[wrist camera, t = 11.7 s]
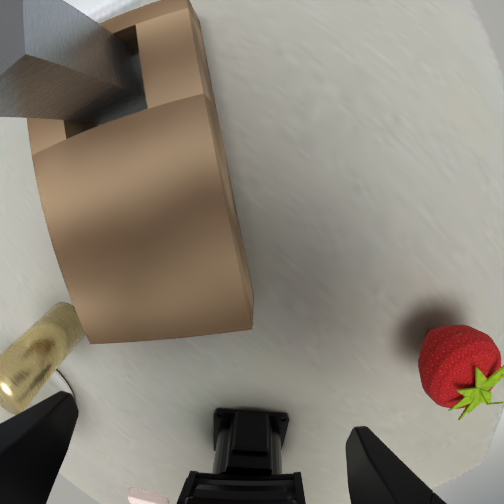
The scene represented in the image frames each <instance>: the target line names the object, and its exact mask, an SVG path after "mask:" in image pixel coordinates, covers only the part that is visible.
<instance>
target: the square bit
mask: <svg viewBox="0 0 504 504" xmlns="http://www.w3.org/2000/svg"><path fill="white" fill-rule="evenodd" d="M146 108H148V107H147V101H146V95H145V89H144V82H143V76H142V69H141V62H140V55H139V52H138V51H136V50H135V49H134V48H132V47H131V46H130V45H128V44H127V43H125V42H124V41H123V40H121V39H120V38H118V37H117V36H116V35H114V34H113V33H111V32H110V31H109V30H107V29H106V28H104V27H103V26H101V25H100V24H98V23H97V22H95V21H94V20H92V19H91V18H89V17H88V16H86V15H85V14H83V13H82V12H80V11H79V10H77V9H76V8H74V7H73V6H71V5H69V4H68V3H66V2H65V1H63V0H0V117H24V118H42V119H55V120H67V121H77V122H87V123H96V124H105V123H108V122H110V121H113V120H116V119H119V118H121V117H124V116H127V115H130V114H133V113H136V112H139V111H142V110H144V109H146Z"/></svg>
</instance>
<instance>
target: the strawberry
mask: <svg viewBox="0 0 504 504" xmlns="http://www.w3.org/2000/svg"><path fill="white" fill-rule="evenodd" d="M418 368H419V373H420V378H421V383H422V387H423V389H424V391H425V392H426V394H427V395H428V396H429V397H430V398H431V399H432V400H433V401H434V402H435V403H436V404H438V405H440V406H442V407H447V408H450V409H449V411H450V410H453V409H457V408H464V407H466V408H465V410H464V411H463V413H462V414H461V416H460V417H459V420H460V419H461V418H462V417H463V416H464V415H465V414H466V413H467V412H468V414H469V413H470V412H471V411H472V410H473V409H474V408H475V407H476V406H478V405H479V404H480V403H481V402H482V403H485V404H489V405H490V404H499V403H504V402H495V403H491V392H490V391H491V389H492V388H493V387H494V385H495V384H496V383H497V382H499V381H500V380H501V379H502V378H503V377H504V374H503V372H504V365H503V366H502V367H501V354H500V351H499V350H498V348H497V346H496V345H495V343H494V342H493V340H492V338H491V337H489V336H488V335H487V334H485V333H483V332H481V331H479V330H476V329H474V328H472V327H469V326H466V325H448V326H441V327H438V328H432V329H430V330H429V331H428V332H427V334H426V337H425V339H424V341H423V343H422V347H421V351H420V356H419V360H418Z"/></svg>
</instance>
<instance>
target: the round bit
mask: <svg viewBox="0 0 504 504" xmlns="http://www.w3.org/2000/svg"><path fill="white" fill-rule="evenodd" d="M84 335H85V331H84V329H83V327H82V324H81V322H80V320H79V317H78V315H77V313H76V310H75V308H74V307H73V306H71V305H69V304H67V303H58V304H56V305H55V306H54V307H53V308H52V309H50V310H49V311H48V312H47V313H46V314H45V315H44V316H42V317H41V318H40V319H39V320H38V321H37V322H36V323H35V324H33V325H32V326H31V327H30V328H29V329H28V330H27V331H26V332H25V333H24V334H23V335H21V336H20V337H19V338H18V339H17V340H16V341H15V342H14V343H13V344H12V345H11V346H10V347H9V348H8V349H7V350H6V351H5V352H4V353H3V354H2V355H0V406H2V407H3V408H4V409H5V410H7V411H8V412H10V413H12V414H14V415H17V414H19V413H21V412H22V411H24V410H25V409H26V408H27V406H28V405H29V404H30V402H31V401H32V400H33V398H34V397H35V396H36V394H37V393H38V392H39V391H40V389H41V388H42V387H43V385H44V384H45V383H46V382H47V380H48V379H49V378H50V377H51V375H52V374H53V373H54V372H55V370H56V369H57V368H58V367H59V365H60V364H61V363H62V362H63V360H64V359H65V358H66V357H67V356H68V354H69V353H70V352H71V351H72V350H73V348H74V347H75V346H76V345H77V344H78V342H79V341H80V340H81V339H82V338H83V337H84Z"/></svg>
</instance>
